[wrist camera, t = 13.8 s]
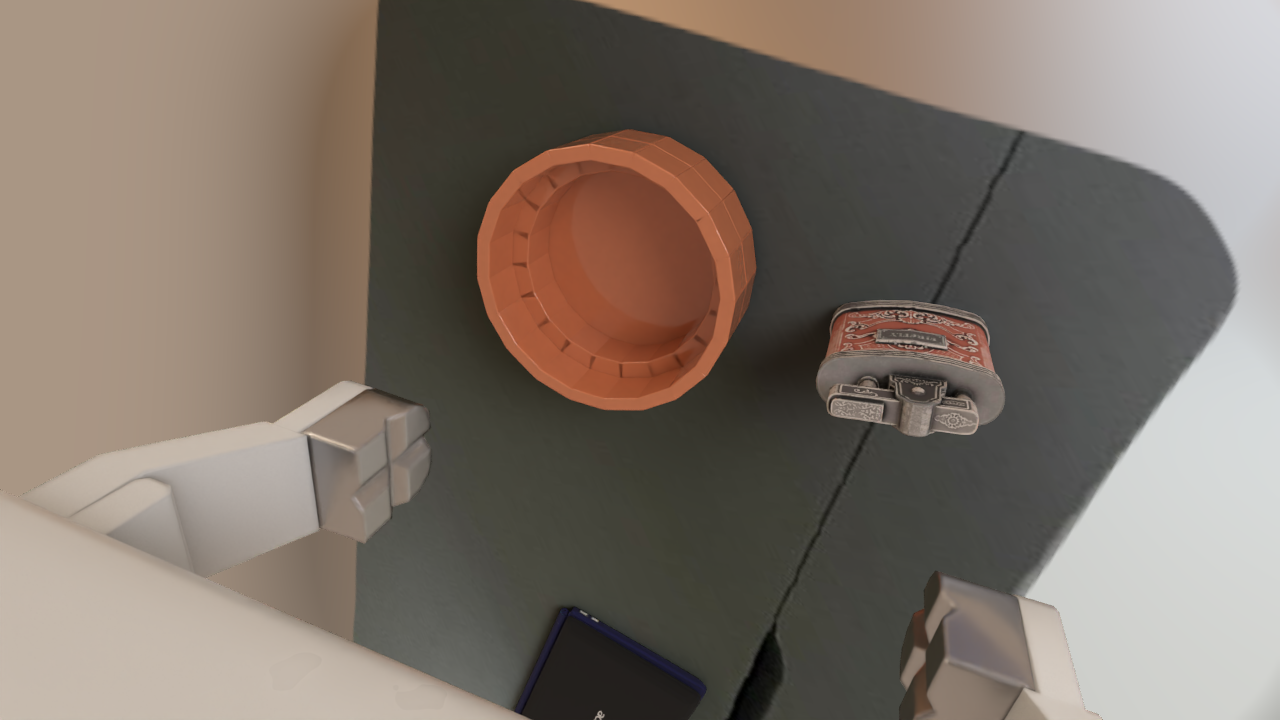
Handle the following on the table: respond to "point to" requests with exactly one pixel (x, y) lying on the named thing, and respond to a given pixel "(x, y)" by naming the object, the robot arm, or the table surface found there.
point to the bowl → (616, 268)
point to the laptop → (604, 677)
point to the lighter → (910, 367)
